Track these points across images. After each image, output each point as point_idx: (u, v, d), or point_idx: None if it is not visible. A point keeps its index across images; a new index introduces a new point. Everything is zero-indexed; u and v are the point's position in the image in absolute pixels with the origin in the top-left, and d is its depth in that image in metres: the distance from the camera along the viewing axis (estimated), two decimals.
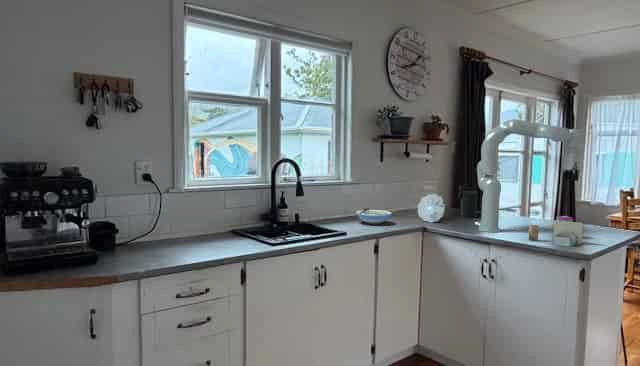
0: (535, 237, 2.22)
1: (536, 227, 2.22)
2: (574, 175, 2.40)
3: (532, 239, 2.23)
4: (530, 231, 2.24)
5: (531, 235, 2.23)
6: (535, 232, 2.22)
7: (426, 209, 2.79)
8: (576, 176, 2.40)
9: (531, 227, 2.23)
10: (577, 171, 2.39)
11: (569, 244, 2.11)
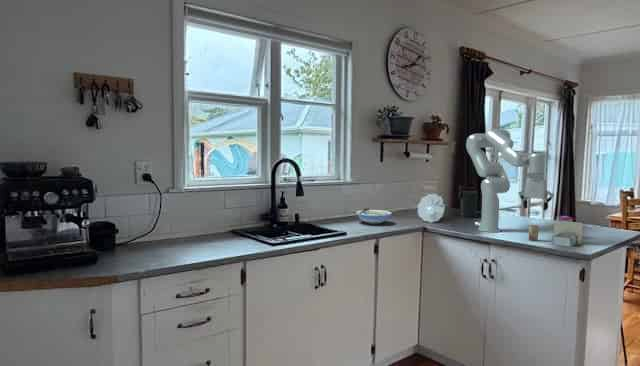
0: (535, 237, 2.22)
1: (536, 227, 2.22)
2: (546, 204, 2.19)
3: (532, 239, 2.23)
4: (530, 231, 2.24)
5: (531, 235, 2.23)
6: (535, 232, 2.22)
7: (426, 209, 2.79)
8: (547, 205, 2.19)
9: (531, 227, 2.23)
10: (549, 200, 2.18)
11: (569, 244, 2.11)
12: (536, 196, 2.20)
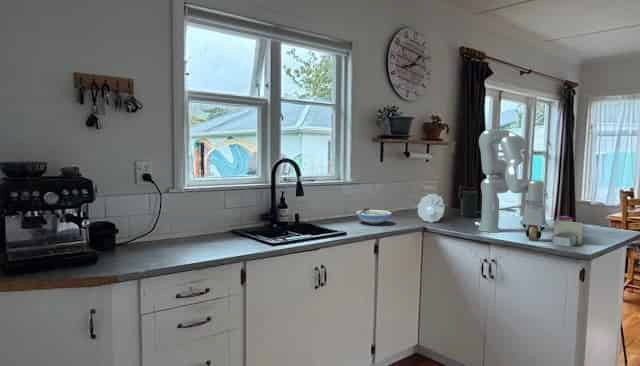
0: (535, 237, 2.22)
1: (536, 227, 2.22)
2: (539, 233, 2.22)
3: (532, 239, 2.23)
4: (530, 231, 2.24)
5: (531, 235, 2.23)
6: (535, 232, 2.22)
7: (426, 209, 2.79)
8: (540, 234, 2.22)
9: (531, 227, 2.23)
10: None
11: (569, 244, 2.11)
12: (534, 223, 2.21)
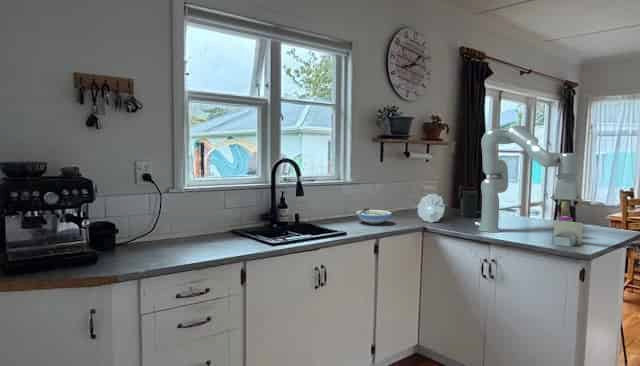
0: (568, 212, 2.13)
1: (569, 201, 2.13)
2: (572, 208, 2.12)
3: (565, 214, 2.14)
4: (562, 206, 2.14)
5: (563, 210, 2.14)
6: (568, 207, 2.13)
7: (426, 209, 2.79)
8: (573, 209, 2.13)
9: (564, 201, 2.14)
10: None
11: (569, 244, 2.11)
12: (567, 197, 2.12)
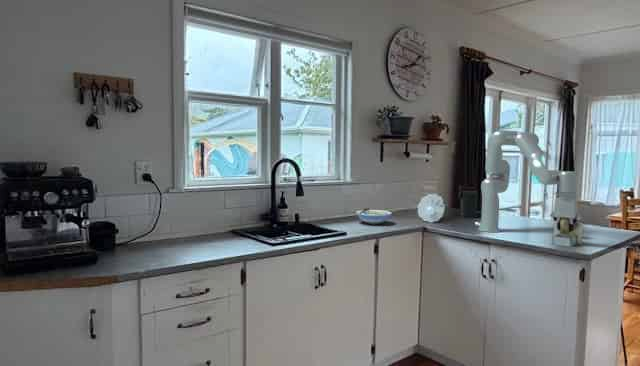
0: (567, 230, 2.14)
1: (568, 219, 2.14)
2: (571, 226, 2.13)
3: (564, 232, 2.14)
4: (562, 224, 2.15)
5: (563, 228, 2.15)
6: (567, 225, 2.14)
7: (426, 209, 2.79)
8: None
9: (563, 220, 2.14)
10: None
11: (569, 244, 2.11)
12: (566, 216, 2.13)
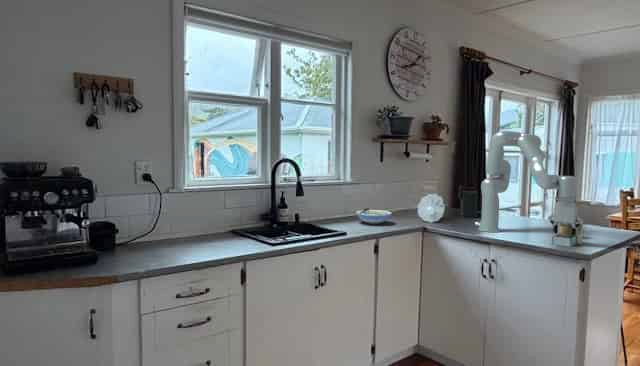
0: (566, 237, 2.14)
1: (567, 227, 2.14)
2: (574, 230, 2.12)
3: None
4: (561, 231, 2.16)
5: (562, 236, 2.15)
6: (566, 232, 2.14)
7: (426, 209, 2.79)
8: (575, 231, 2.13)
9: (562, 227, 2.15)
10: (577, 225, 2.12)
11: (569, 244, 2.11)
12: (566, 220, 2.13)
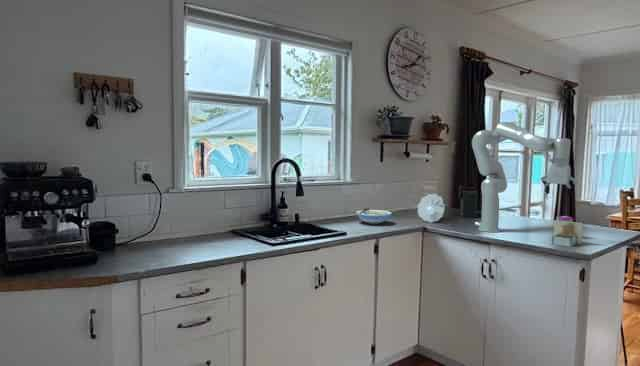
0: (566, 237, 2.14)
1: (568, 227, 2.14)
2: (569, 190, 2.17)
3: None
4: (561, 231, 2.15)
5: (562, 236, 2.15)
6: (566, 232, 2.14)
7: (426, 209, 2.79)
8: (570, 191, 2.17)
9: (562, 227, 2.15)
10: None
11: (569, 244, 2.11)
12: (559, 182, 2.18)
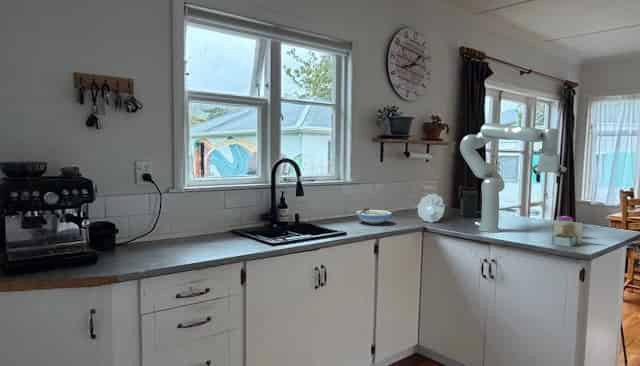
0: (566, 237, 2.14)
1: (568, 227, 2.14)
2: (558, 178, 2.26)
3: None
4: (561, 231, 2.15)
5: (562, 236, 2.15)
6: (566, 232, 2.14)
7: (426, 209, 2.79)
8: None
9: (562, 227, 2.15)
10: (562, 173, 2.25)
11: (569, 244, 2.11)
12: (549, 170, 2.27)
